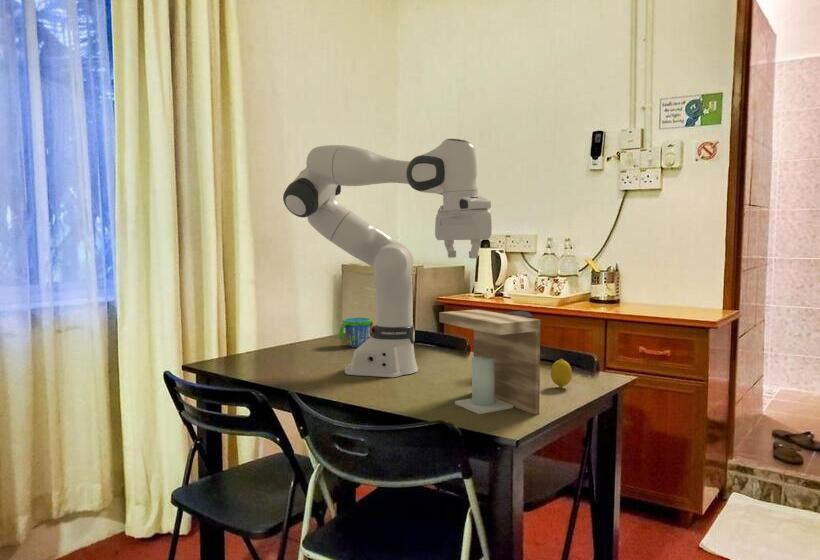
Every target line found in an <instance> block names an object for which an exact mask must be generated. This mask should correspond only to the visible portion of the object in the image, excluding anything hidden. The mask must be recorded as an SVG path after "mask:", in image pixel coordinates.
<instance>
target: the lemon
mask: <svg viewBox="0 0 820 560" xmlns="http://www.w3.org/2000/svg"><path fill="white" fill-rule="evenodd" d="M572 373H573V372H572V367H571V365H570V363H569V362H567V361H566V360H564V359H563V358H559V360H556V361H555V362H554V363H552V366H551V370H550V378H551V381H552V382H553V383H554V384H555V385H556V386H558V388H561V389H562V388H564V387H565V386H568V384H569V383H570V382H571V380H572V377H573V376H572V375H573V374H572Z"/></svg>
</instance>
